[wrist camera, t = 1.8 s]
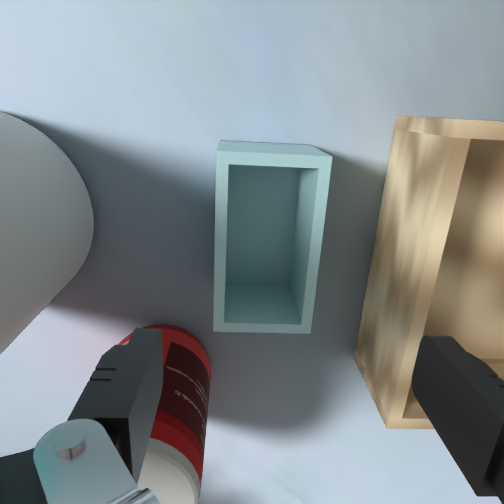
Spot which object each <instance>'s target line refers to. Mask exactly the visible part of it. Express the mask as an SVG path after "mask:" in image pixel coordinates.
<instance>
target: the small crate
mask: <svg viewBox="0 0 504 504" xmlns="http://www.w3.org/2000/svg"><path fill="white" fill-rule="evenodd" d="M332 157H333V156H331V155H329V154H327V153H325V152H323V151H321V150H319V149H317V148H315V147H313V146H311V145H306V144H286V143H266V142H246V141H226V140H221V141H220V143H219V146H218V148H217V150H216V192H215V248H214V304H213V332H244V333H288V334H311V327H312V318H313V310H314V302H315V294H316V286H317V278H318V270H319V262H320V254H321V246H322V238H323V230H324V222H325V214H326V206H327V197H328V189H329V181H330V173H331V165H332Z"/></svg>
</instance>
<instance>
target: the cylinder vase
mask: <svg viewBox="0 0 504 504" xmlns="http://www.w3.org/2000/svg"><path fill="white" fill-rule="evenodd" d="M93 232H94V217H93V209H92V204H91V200H90V197H89V194H88V191H87V188H86V186H85V184H84V181H83V179H82V177H81V176H80V174H79V172H78V171H77V169H76V167H75V166H74V164H73V163H72V162H71V160H70V159H69V158H68V157H67V155H66V154H65V153H64V152H63V151H62V150H61V149H60V148H59V147H58V146H57V145H56V144H55V143H54V142H53V141H52V140H51V139H50V138H48V137H47V136H46V135H45V134H43V133H42V132H40V131H39V130H38V129H36V128H34V127H33V126H31V125H30V124H28V123H26V122H24V121H22V120H20V119H18V118H16V117H13V116H11V115H8V114H6V113H3V112H0V354H1V353H2V352H3V351H4V350H5V349H6V348H7V347H8V346H9V345H10V344H11V343H12V342H13V341H14V339H15V338H16V337H17V336H18V335H19V334H20V333H21V332H22V331H23V330H24V329H25V328H26V327H27V326H28V325H29V324H30V323H31V322H32V320H33V319H34V318H35V317H36V316H37V315H38V314H39V313H40V312H41V311H42V310H43V309H44V308H45V307H46V306H47V305H48V304H49V303H50V301H51V300H52V299H53V298H54V297H55V296H56V295H57V294H58V293H59V292H60V291H61V290H62V289H63V288H64V287H65V286H66V285H67V284H68V283H69V281H70V280H71V279H72V278H73V277H74V276H75V275H76V274H77V273H78V271H79V270H80V269H81V267H82V265H83V264H84V262H85V260H86V258H87V256H88V253H89V251H90V248H91V244H92V239H93Z"/></svg>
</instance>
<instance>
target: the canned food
mask: <svg viewBox="0 0 504 504" xmlns="http://www.w3.org/2000/svg"><path fill="white" fill-rule="evenodd" d="M144 328H152V329H161V331H162V348H163V386H162V392H161V396H160V400H159V404H158V408H157V411H156V415H155V419H154V423H153V427H152V431H151V434H150V438H149V442H148V446H147V450H146V454H145V458H144V461H143V465H142V469H141V473H140V477H139V481H138V484H137V486H138V488H139V489H140V490H141V491H142V490H144V489H145V488H149V489H150V490H151V491H152V492H153V493H154V494H155V496H156V497H157V499H158V501H159V502H160V504H198V499H199V496H200V489H201V479H202V471H203V459H204V447H205V436H206V424H207V412H208V401H209V389H210V378H211V366H210V361H209V358H208V356H207V353H206V351H205V349H204V347H203V346H202V344H201V343H200V342H199V340H198V339H196V338H195V337H194V336H193V335H192V334H190V333H188V332H187V331H185V330H183V329H180V328H177V327H173V326H167V325H154V326H148V327H144ZM131 336H132V333H131V334H130V335H128V336H127V337H126V338H125V339H123V340H122V341H121V342H120V343H119V344H118V345H127V344H128V342H129V340H130V338H131Z"/></svg>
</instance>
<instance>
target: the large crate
mask: <svg viewBox="0 0 504 504" xmlns="http://www.w3.org/2000/svg"><path fill="white" fill-rule="evenodd" d="M425 335H443V336H451V337H453V338H454V339H455V340H456V341H457V342H458V343H459V344H460V345H461V346H462V348H463V349H464V350H465V351H466V352H469V353H471V354H472V355H474V356H476V357H477V358H479V359H480V360H482V361H483V362H485V363H486V364H487V365H488V366H489V367H490V368H491V369H492V370H493V371H494V372H495V373H496V374H497V375H498V378H501V379H502V380H503V381H504V121H487V120H469V119H451V118H433V117H415V116H396V122H395V127H394V133H393V139H392V145H391V150H390V156H389V162H388V167H387V173H386V179H385V184H384V190H383V196H382V201H381V207H380V213H379V219H378V224H377V230H376V236H375V241H374V247H373V253H372V258H371V264H370V270H369V275H368V281H367V287H366V293H365V298H364V304H363V310H362V315H361V321H360V327H359V332H358V338H357V344H356V349H355V355H354V360H355V362H356V364H357V366H358V368H359V370H360V372H361V374H362V377H363V379H364V381H365V383H366V385H367V387H368V389H369V392H370V394H371V396H372V398H373V400H374V402H375V404H376V406H377V409H378V411H379V413H380V415H381V417H382V419H383V421H384V424H385V426H386V428H387V429H435V428H434V427H433V425H432V423H431V422H430V420H429V419H428V417H427V415H426V414H425V412H424V411H423V409H422V407H421V406H420V404H419V403H418V401H417V399H416V398H415V396H414V393H413V390H412V374H413V369H414V365H415V361H416V357H417V353H418V349H419V344H420V341H421V339H422V337H423V336H425Z"/></svg>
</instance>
